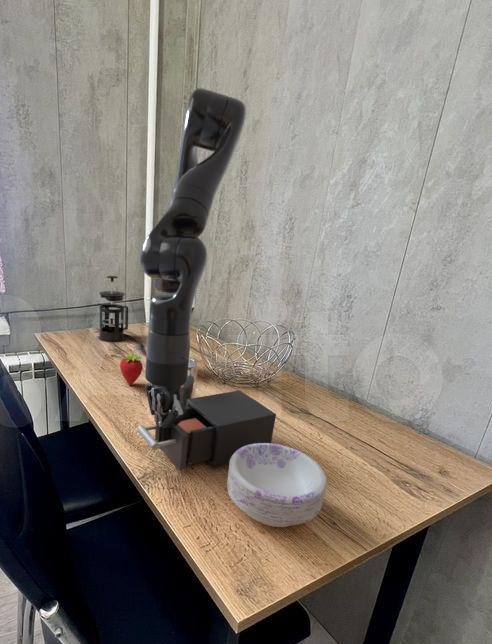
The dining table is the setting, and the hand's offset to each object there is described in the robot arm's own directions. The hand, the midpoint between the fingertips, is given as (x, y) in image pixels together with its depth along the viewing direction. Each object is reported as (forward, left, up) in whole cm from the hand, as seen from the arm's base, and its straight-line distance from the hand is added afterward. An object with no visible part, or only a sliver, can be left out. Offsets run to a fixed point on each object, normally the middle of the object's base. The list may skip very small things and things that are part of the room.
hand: (162, 440), depth 76 cm
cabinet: (0, +15, -4) cm, 16 cm away
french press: (-79, +18, -5) cm, 81 cm away
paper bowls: (+19, +11, -5) cm, 23 cm away
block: (0, +6, -2) cm, 7 cm away
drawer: (0, +5, -3) cm, 6 cm away
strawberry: (-36, +8, -5) cm, 37 cm away
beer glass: (-12, +10, -5) cm, 16 cm away
